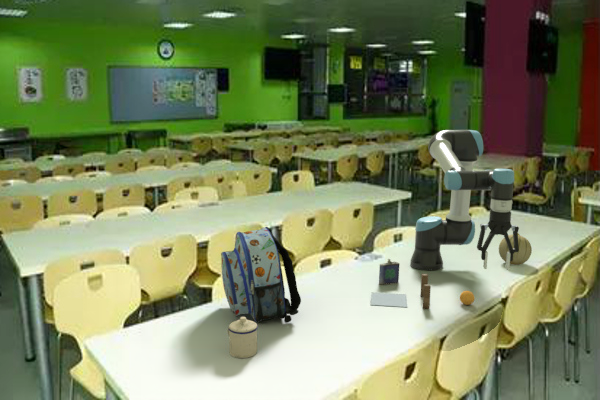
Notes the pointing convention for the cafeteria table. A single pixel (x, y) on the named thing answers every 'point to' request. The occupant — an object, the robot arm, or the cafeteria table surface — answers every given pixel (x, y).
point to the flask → (389, 273)
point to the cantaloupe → (519, 256)
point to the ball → (467, 297)
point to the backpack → (259, 277)
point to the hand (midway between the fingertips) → (496, 268)
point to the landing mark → (388, 299)
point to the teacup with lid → (243, 338)
